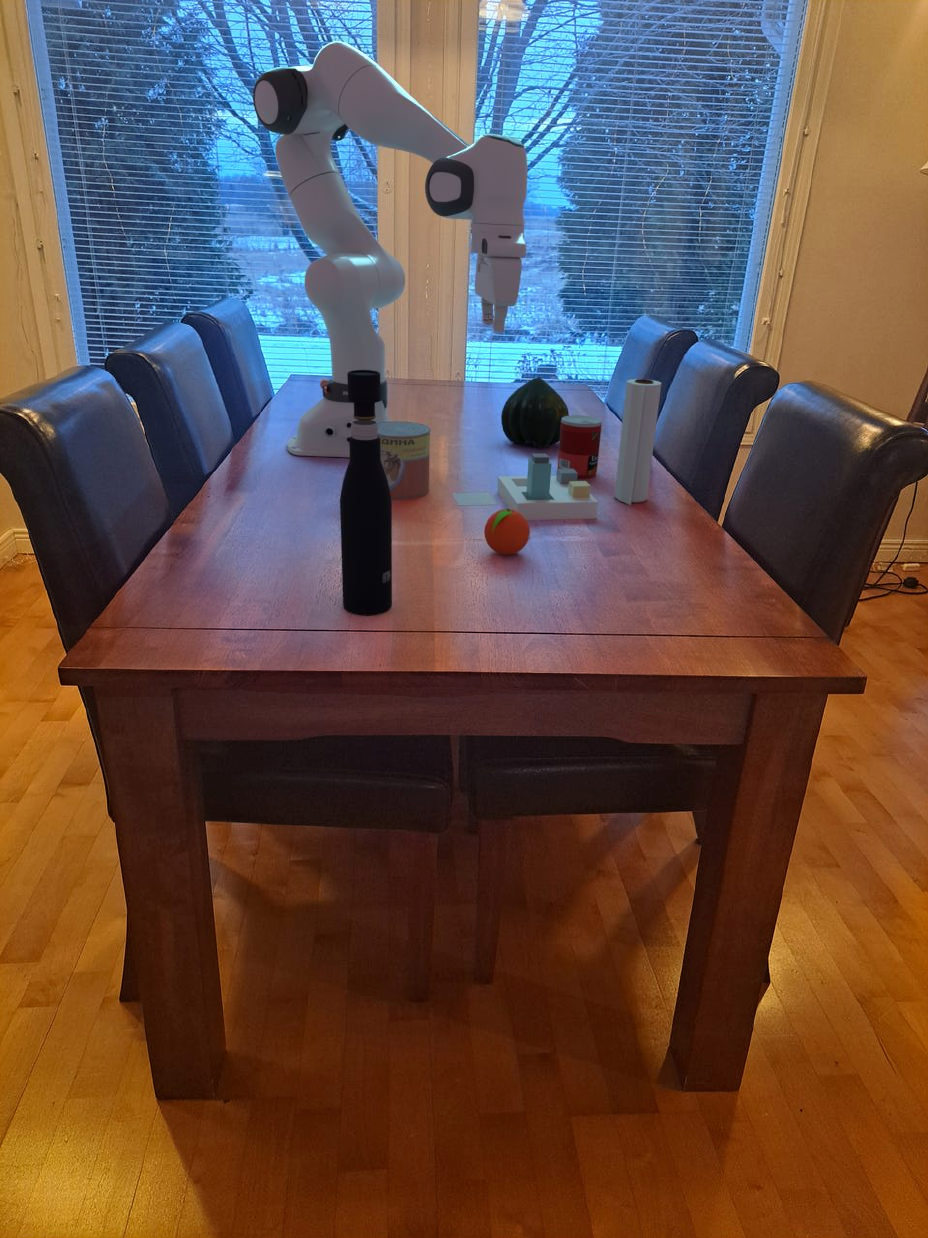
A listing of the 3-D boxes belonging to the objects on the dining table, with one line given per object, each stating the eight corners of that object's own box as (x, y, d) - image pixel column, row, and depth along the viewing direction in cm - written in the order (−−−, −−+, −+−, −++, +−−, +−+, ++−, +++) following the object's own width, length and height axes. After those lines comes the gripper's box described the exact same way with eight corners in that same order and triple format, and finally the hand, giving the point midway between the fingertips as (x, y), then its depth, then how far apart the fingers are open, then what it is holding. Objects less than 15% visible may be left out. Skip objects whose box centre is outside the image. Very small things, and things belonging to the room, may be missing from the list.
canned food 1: (356, 498, 158) (355, 431, 153) (383, 481, 168) (383, 418, 163) (414, 506, 155) (415, 438, 150) (438, 489, 164) (439, 425, 159)
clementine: (511, 567, 130) (513, 521, 127) (471, 557, 133) (472, 512, 130) (536, 551, 136) (539, 507, 133) (497, 542, 139) (499, 499, 136)
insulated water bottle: (343, 595, 119) (337, 367, 106) (391, 595, 119) (391, 368, 106) (341, 615, 113) (334, 376, 100) (392, 615, 113) (391, 377, 101)
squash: (526, 431, 185) (561, 372, 187) (479, 421, 196) (512, 365, 197) (559, 468, 196) (592, 411, 197) (512, 456, 206) (543, 402, 207)
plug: (529, 515, 150) (533, 457, 146) (525, 509, 153) (528, 452, 149) (547, 515, 151) (552, 457, 147) (543, 509, 154) (547, 452, 150)
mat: (458, 508, 154) (458, 505, 154) (451, 496, 160) (452, 493, 160) (497, 507, 155) (497, 504, 155) (489, 495, 162) (489, 492, 161)
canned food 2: (595, 480, 173) (600, 425, 168) (554, 477, 174) (559, 421, 170) (597, 470, 180) (603, 416, 175) (558, 467, 181) (563, 413, 176)
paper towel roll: (626, 491, 167) (640, 376, 158) (653, 499, 163) (668, 381, 154) (603, 498, 162) (615, 380, 153) (630, 506, 158) (644, 385, 149)
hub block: (516, 523, 148) (517, 491, 146) (497, 494, 162) (498, 465, 160) (596, 521, 150) (599, 490, 148) (570, 493, 165) (572, 464, 162)
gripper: (468, 239, 158) (465, 319, 164) (490, 245, 140) (485, 335, 146) (502, 240, 159) (498, 320, 165) (529, 246, 141) (523, 336, 147)
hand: (492, 327), depth 155 cm, fingers open, 8 cm apart
